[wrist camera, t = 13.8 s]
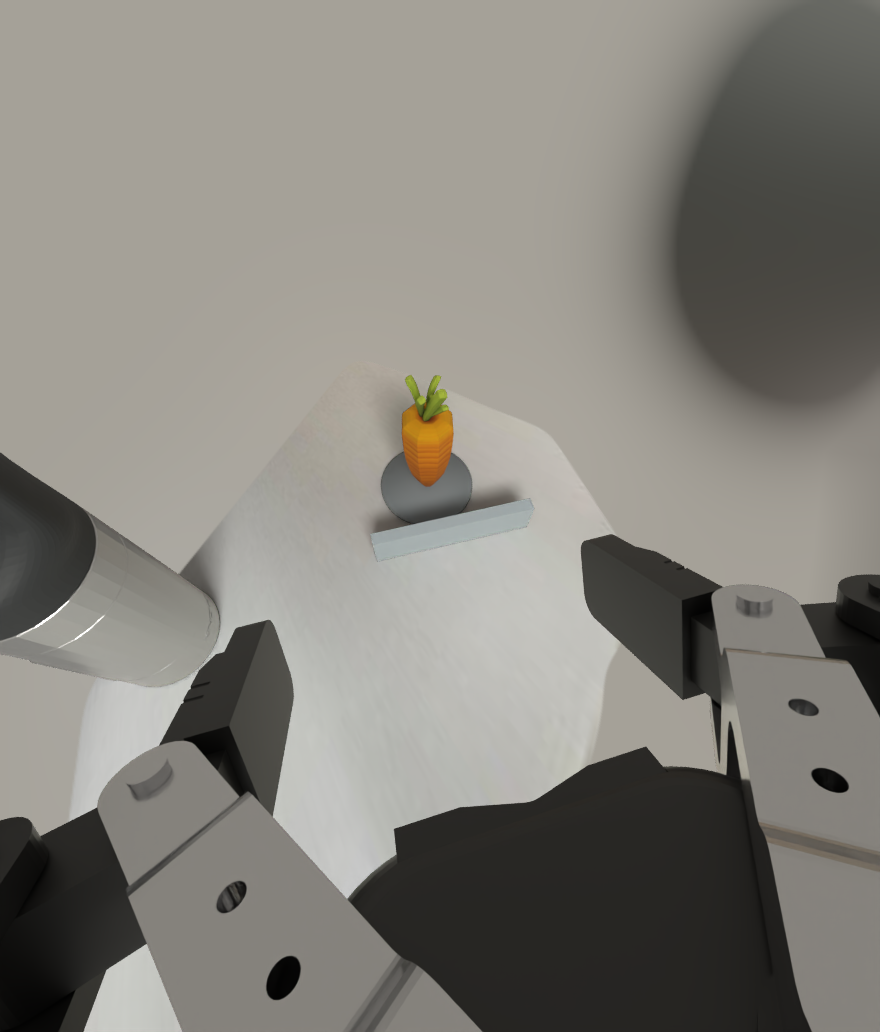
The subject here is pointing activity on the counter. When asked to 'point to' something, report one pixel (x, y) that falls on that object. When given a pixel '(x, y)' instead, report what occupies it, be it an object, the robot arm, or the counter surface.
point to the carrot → (427, 433)
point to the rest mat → (425, 491)
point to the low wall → (451, 529)
